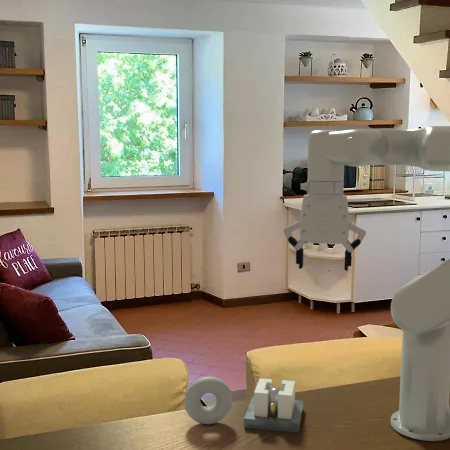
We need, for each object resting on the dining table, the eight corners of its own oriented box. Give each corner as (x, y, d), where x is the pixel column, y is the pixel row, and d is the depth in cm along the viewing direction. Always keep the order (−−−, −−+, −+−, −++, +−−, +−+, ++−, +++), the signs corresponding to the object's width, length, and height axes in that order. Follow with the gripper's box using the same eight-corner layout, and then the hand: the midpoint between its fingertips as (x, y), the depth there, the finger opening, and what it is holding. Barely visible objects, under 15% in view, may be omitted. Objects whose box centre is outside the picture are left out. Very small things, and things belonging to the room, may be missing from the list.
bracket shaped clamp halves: (291, 419, 127) (291, 395, 126) (253, 415, 128) (254, 392, 128) (294, 403, 134) (295, 381, 134) (259, 400, 136) (259, 378, 135)
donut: (231, 418, 132) (231, 372, 130) (233, 425, 128) (234, 378, 127) (183, 421, 130) (183, 375, 129) (184, 428, 127) (184, 381, 126)
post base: (302, 409, 136) (303, 380, 135) (298, 432, 125) (299, 401, 124) (252, 405, 138) (252, 376, 137) (244, 427, 127) (244, 397, 127)
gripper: (282, 189, 131) (281, 270, 133) (367, 191, 127) (364, 274, 130) (286, 186, 138) (285, 263, 141) (366, 188, 135) (364, 266, 137)
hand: (323, 268), depth 135 cm, fingers open, 9 cm apart
